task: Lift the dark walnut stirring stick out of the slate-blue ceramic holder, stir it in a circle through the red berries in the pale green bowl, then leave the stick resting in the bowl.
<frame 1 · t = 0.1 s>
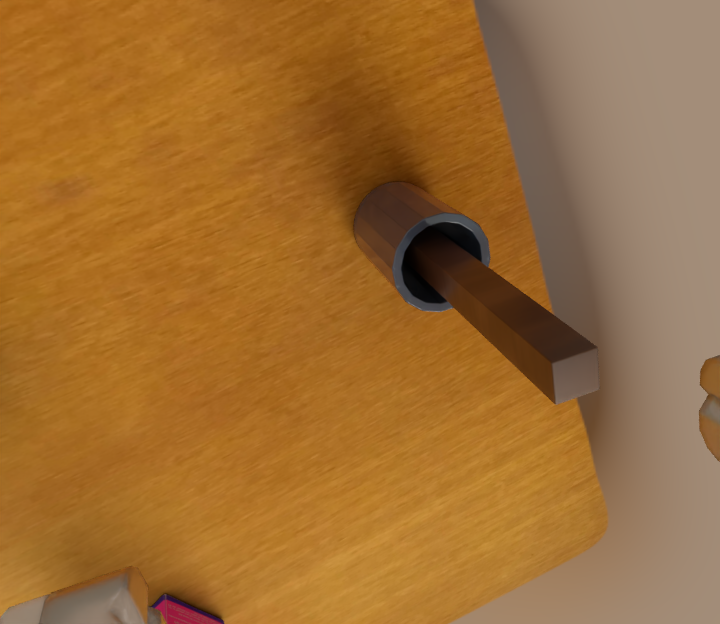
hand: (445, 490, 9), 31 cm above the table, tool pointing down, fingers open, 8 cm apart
stirring stick: (397, 226, 40), resting on stick holder
stick holder: (394, 224, 41), on the table
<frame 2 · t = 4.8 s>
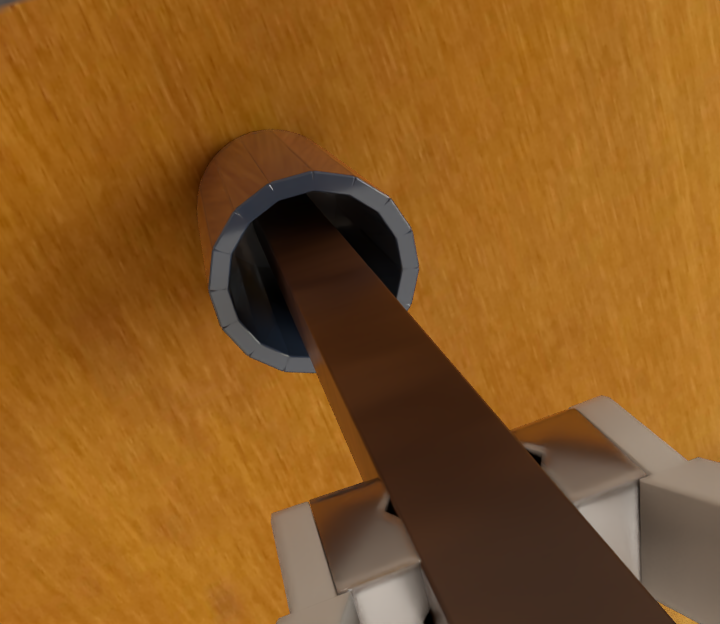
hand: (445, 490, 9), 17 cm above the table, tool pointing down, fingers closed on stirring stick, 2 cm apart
stirring stick: (275, 208, 23), resting on stick holder, touching gripper
stick holder: (273, 205, 24), on the table
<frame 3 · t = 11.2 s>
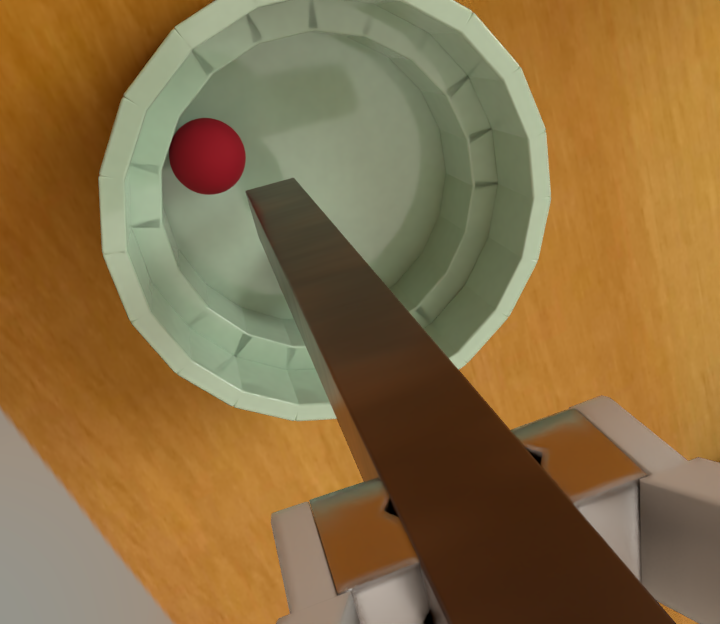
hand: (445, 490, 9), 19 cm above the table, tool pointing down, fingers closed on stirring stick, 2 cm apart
stirring stick: (276, 207, 23), point 3 cm above the table, touching gripper
berry 2: (207, 156, 22), point 2 cm above the table, tilted 64°, touching bowl
bowl: (308, 184, 26), on the table
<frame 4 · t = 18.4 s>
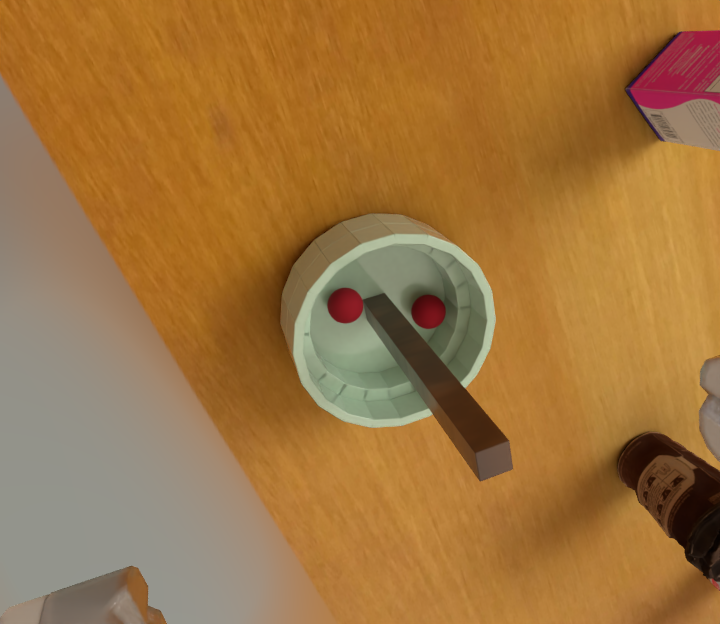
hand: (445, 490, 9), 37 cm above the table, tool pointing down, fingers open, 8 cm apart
stirring stick: (375, 306, 49), point 1 cm above the table, touching bowl
supplement box: (667, 86, 49), on the table
berry 2: (345, 305, 47), point 2 cm above the table, tilted 38°, touching bowl
coffee cup: (640, 457, 64), on the table
bowl: (373, 304, 49), on the table
berry 1: (428, 311, 49), point 2 cm above the table, tilted 135°, touching bowl
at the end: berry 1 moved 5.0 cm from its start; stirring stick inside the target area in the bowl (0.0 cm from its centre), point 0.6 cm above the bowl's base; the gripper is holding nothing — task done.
